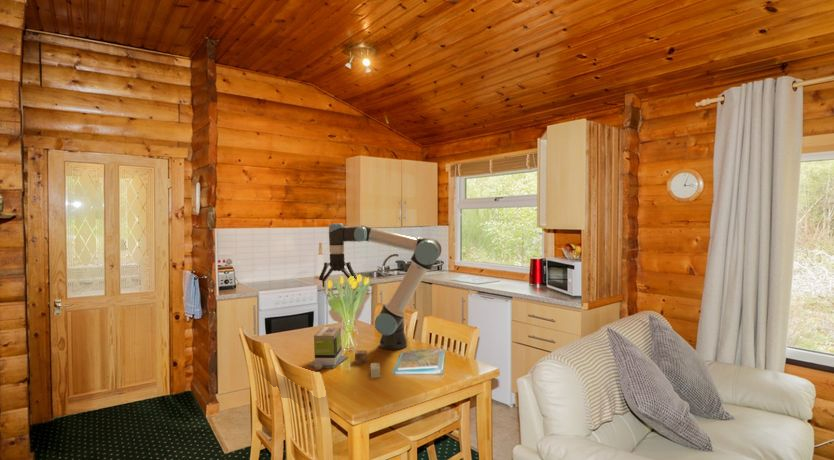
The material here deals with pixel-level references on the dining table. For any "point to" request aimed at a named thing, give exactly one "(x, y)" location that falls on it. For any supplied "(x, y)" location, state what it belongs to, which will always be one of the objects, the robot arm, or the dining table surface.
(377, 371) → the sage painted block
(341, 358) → the slate trivet
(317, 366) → the grey rubber ball
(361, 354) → the walnut cube
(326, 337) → the tea box
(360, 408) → the dining table surface
